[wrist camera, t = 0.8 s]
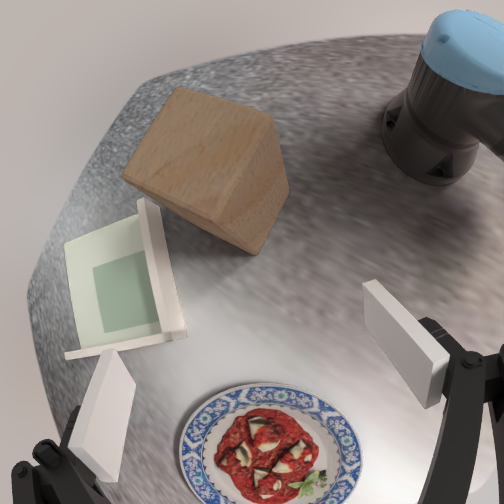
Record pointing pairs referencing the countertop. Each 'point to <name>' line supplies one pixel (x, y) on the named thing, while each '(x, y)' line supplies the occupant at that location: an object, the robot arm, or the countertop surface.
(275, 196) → the wooden block
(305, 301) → the countertop surface
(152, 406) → the countertop surface
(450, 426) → the robot arm
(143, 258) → the corner arena
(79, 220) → the countertop surface
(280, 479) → the ceramic plate
